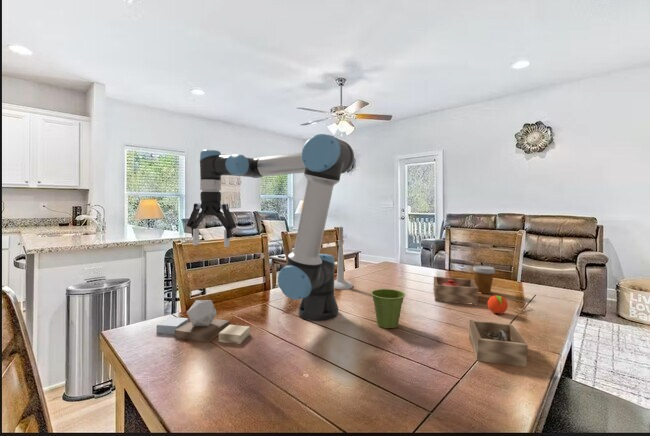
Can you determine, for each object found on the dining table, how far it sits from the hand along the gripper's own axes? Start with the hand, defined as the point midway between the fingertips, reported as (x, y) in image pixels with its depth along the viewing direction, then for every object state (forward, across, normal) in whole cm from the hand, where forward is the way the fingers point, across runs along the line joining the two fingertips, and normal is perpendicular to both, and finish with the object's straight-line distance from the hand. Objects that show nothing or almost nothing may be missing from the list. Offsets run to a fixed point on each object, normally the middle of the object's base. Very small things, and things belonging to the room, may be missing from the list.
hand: (211, 245), depth 129 cm
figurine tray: (+24, -100, +9) cm, 103 cm away
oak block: (+25, -23, +22) cm, 40 cm away
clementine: (+25, -108, -26) cm, 114 cm away
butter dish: (+25, -93, -42) cm, 105 cm away
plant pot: (+25, -68, -3) cm, 72 cm away
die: (+22, -10, +21) cm, 32 cm away
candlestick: (+25, -42, -47) cm, 68 cm away
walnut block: (+26, -11, +21) cm, 35 cm away
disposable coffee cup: (+25, -109, -56) cm, 125 cm away
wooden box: (+25, -94, -43) cm, 107 cm away
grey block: (+25, 0, +22) cm, 33 cm away
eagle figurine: (+25, -101, +10) cm, 104 cm away
